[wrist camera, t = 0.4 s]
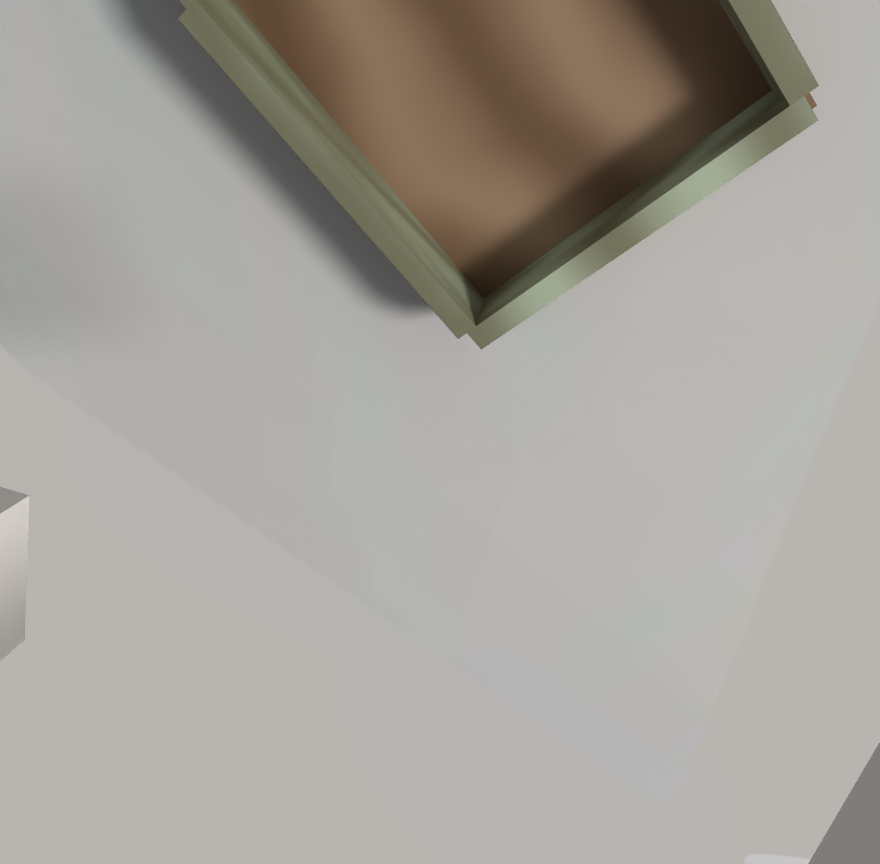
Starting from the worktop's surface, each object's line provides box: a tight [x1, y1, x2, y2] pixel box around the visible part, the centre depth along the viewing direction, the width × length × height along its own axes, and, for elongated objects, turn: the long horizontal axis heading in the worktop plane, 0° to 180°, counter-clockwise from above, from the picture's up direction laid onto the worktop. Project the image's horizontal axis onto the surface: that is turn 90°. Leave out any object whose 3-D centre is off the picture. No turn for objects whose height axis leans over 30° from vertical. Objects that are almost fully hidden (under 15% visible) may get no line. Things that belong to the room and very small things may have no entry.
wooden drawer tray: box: [178, 0, 819, 349], centre depth 27 cm, size 16×22×6 cm
